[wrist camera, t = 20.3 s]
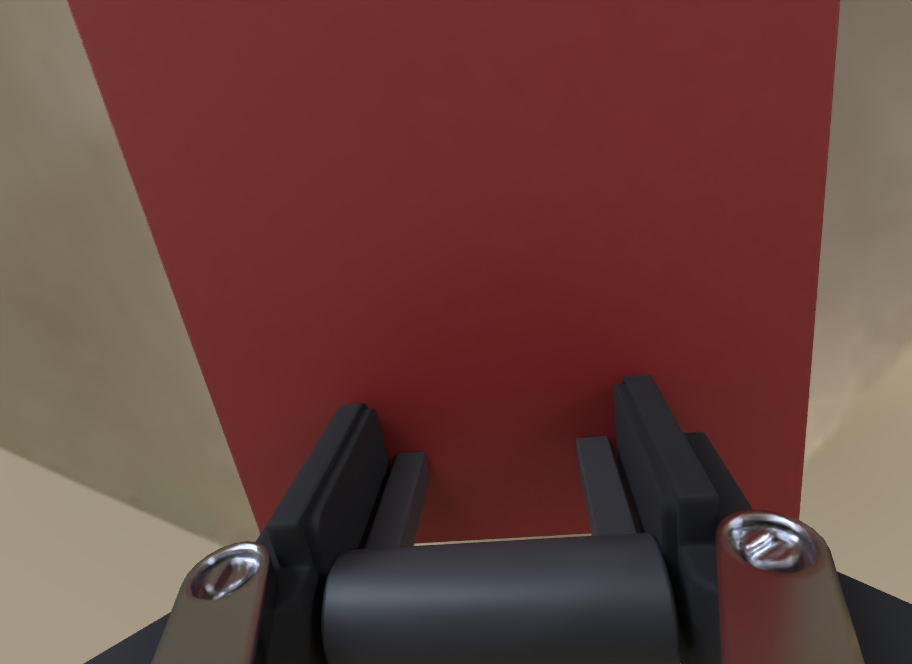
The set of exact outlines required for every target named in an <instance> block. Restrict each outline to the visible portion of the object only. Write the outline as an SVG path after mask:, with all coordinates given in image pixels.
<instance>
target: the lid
mask: <svg viewBox="0 0 912 664" xmlns="http://www.w3.org/2000/svg"><path fill="white" fill-rule="evenodd" d="M67 2H68V5H69V8H70V11H71V13H72V16H73V19H74V22H75V24H76V27H77V30H78V33H79V35H80V38H81V41H82V44H83V47H84V49H85V52H86V55H87V58H88V60H89V63H90V66H91V69H92V71H93V74H94V77H95V80H96V82H97V85H98V88H99V91H100V93H101V96H102V99H103V102H104V104H105V107H106V110H107V113H108V115H109V118H110V121H111V124H112V126H113V129H114V132H115V135H116V137H117V140H118V143H119V146H120V148H121V151H122V154H123V157H124V159H125V162H126V165H127V168H128V170H129V173H130V176H131V179H132V181H133V184H134V187H135V190H136V192H137V195H138V198H139V201H140V203H141V206H142V209H143V212H144V214H145V217H146V220H147V223H148V225H149V228H150V231H151V234H152V236H153V239H154V242H155V245H156V247H157V250H158V253H159V256H160V259H161V261H162V264H163V267H164V270H165V272H166V275H167V278H168V281H169V283H170V286H171V289H172V292H173V294H174V297H175V300H176V303H177V305H178V308H179V311H180V314H181V316H182V319H183V322H184V325H185V327H186V330H187V333H188V336H189V338H190V341H191V344H192V347H193V349H194V352H195V355H196V358H197V360H198V363H199V366H200V369H201V371H202V374H203V377H204V380H205V382H206V385H207V388H208V391H209V393H210V396H211V399H212V402H213V404H214V407H215V410H216V413H217V415H218V418H219V421H220V424H221V426H222V429H223V432H224V435H225V437H226V440H227V443H228V446H229V448H230V451H231V454H232V457H233V460H234V462H235V465H236V468H237V471H238V473H239V476H240V479H241V482H242V484H243V487H244V490H245V493H246V495H247V498H248V501H249V504H250V506H251V509H252V512H253V515H254V517H255V520H256V523H257V526H258V528H259V531H260V534H261V533H262V531H263V529H264V528H265V526H266V524H267V523H268V521H269V520H270V518H271V516H272V515H273V513H274V511H275V510H276V508H277V507H278V505H279V503H280V502H281V500H282V498H283V497H284V495H285V493H286V492H287V490H288V489H289V487H290V485H291V484H292V482H293V480H294V479H295V477H296V476H297V474H298V472H299V471H300V469H301V468H302V466H303V465H304V463H305V461H306V460H307V458H308V456H309V455H310V453H311V452H312V450H313V448H314V447H315V445H316V443H317V442H318V440H319V438H320V437H321V435H322V434H323V432H324V430H325V429H326V427H327V425H328V424H329V422H330V421H331V419H332V417H333V416H334V414H335V412H336V411H337V409H338V407H339V406H340V405H350V404H360V403H365V404H367V406H368V408H369V409H373V408H374V409H375V410H376V412H377V415H378V419H379V423H380V427H381V432H382V436H383V440H384V444H385V448H386V452H387V456H388V461H389V465H390V469H391V471H390V474H389V477H388V480H387V483H386V486H385V489H384V492H383V495H382V497H381V500H380V503H379V506H378V509H377V512H376V515H375V518H374V520H373V523H372V526H371V529H370V532H369V535H368V538H367V541H366V544H365V546H364V549H356V550H346V551H344V552H342V553H340V554H339V555H338V556H337V558H336V559H335V560H334V562H333V564H332V566H331V568H330V571H329V574H328V577H327V581H326V585H325V589H324V595H323V602H322V613H321V635H322V645H323V651H324V656H325V659H326V662H327V664H680V659H681V637H680V628H679V620H678V614H677V608H676V602H675V597H674V592H673V588H672V583H671V579H670V575H669V571H668V568H667V564H666V561H665V558H664V555H663V553H662V550H661V548H660V545H659V543H658V541H657V540H656V538H655V536H654V535H652V534H650V533H638V531H637V528H636V524H635V521H634V518H633V515H632V511H631V508H630V505H629V502H628V498H627V495H626V492H625V489H624V485H623V482H622V479H621V476H620V473H619V469H618V457H617V442H616V426H615V411H614V396H613V385H615V384H622V378H623V377H628V376H638V375H648V374H650V375H651V376H652V378H653V380H654V381H655V383H656V385H657V387H658V389H659V390H660V392H661V394H662V396H663V398H664V399H665V401H666V403H667V405H668V406H669V408H670V410H671V412H672V414H673V415H674V417H675V419H676V421H677V423H678V424H679V426H680V428H681V430H682V431H683V433H689V432H704V433H705V435H706V436H707V437H708V439H709V440H710V442H711V443H712V445H713V447H714V448H715V450H716V451H717V453H718V455H719V456H720V458H721V459H722V461H723V462H724V464H725V466H726V467H727V469H728V470H729V472H730V474H731V475H732V477H733V478H734V480H735V482H736V483H737V485H738V486H739V488H740V489H741V491H742V493H743V494H744V496H745V497H746V499H747V501H748V502H749V504H750V505H751V507H752V508H753V510H767V511H772V512H777V513H782V514H785V515H787V516H790V517H793V518H795V519H798V520H799V513H800V501H801V487H802V476H803V463H804V450H805V438H806V425H807V412H808V400H809V387H810V375H811V362H812V349H813V337H814V324H815V311H816V299H817V286H818V274H819V261H820V248H821V236H822V223H823V211H824V198H825V185H826V173H827V160H828V147H829V135H830V122H831V110H832V97H833V84H834V72H835V59H836V47H837V34H838V21H839V9H840V0H67ZM587 533H591V535H592V536H583V537H565V538H548V539H530V540H513V541H495V542H478V543H460V544H443V545H425V546H414V543H431V542H449V541H466V540H483V539H500V538H518V537H535V536H552V535H569V534H587Z"/></svg>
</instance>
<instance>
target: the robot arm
mask: <svg viewBox="0 0 912 664" xmlns="http://www.w3.org/2000/svg"><path fill="white" fill-rule="evenodd" d="M613 396H614V411H615V426H616V442H617V457H618V469H619V473H620V476H621V479H622V482H623V485H624V489H625V492H626V495H627V498H628V502H629V505H630V508H631V511H632V515H633V518H634V521H635V524H636V528H637V531H638V533H650V534H652V535H654V536H655V538H656V540H657V541H658V543H659V545H660V548H661V550H662V553H663V555H664V558H665V561H666V564H667V568H668V571H669V575H670V579H671V583H672V588H673V592H674V597H675V602H676V608H677V614H678V620H679V628H680V637H681V659H680V664H912V604H910V603H908V602H905V601H903V600H901V599H899V598H896V597H894V596H892V595H889V594H887V593H885V592H882V591H880V590H878V589H876V588H874V587H871V586H869V585H867V584H864V583H862V582H860V581H858V580H855V579H853V578H851V577H849V576H846V575H844V574H842V573H839V572H837V571H836V568H835V564H834V561H833V558H832V555H831V551H830V549H829V547H828V546H827V544H826V542H825V540H824V539H823V538H822V537H821V536H820V535H819V534H818V533H817V532H816V531H815V530H814V529H813V528H811V527H809V526H808V525H806V524H805V523H803V522H801V521H800V520H798V519H795V518H793V517H790V516H787V515H785V514H782V513H777V512H772V511H767V510H753V508H752V507H751V505H750V504H749V502H748V501H747V499H746V497H745V496H744V494H743V493H742V491H741V489H740V488H739V486H738V485H737V483H736V482H735V480H734V478H733V477H732V475H731V474H730V472H729V470H728V469H727V467H726V466H725V464H724V462H723V461H722V459H721V458H720V456H719V455H718V453H717V451H716V450H715V448H714V447H713V445H712V443H711V442H710V440H709V439H708V437H707V436H706V435H705V433H704V432H689V433H683V431H682V430H681V428H680V426H679V424H678V423H677V421H676V419H675V417H674V415H673V414H672V412H671V410H670V408H669V406H668V405H667V403H666V401H665V399H664V398H663V396H662V394H661V392H660V390H659V389H658V387H657V385H656V383H655V381H654V380H653V378H652V376H651V375H650V374H648V375H638V376H628V377H623V378H622V384H615V385H613ZM390 471H391V469H390V465H389V461H388V456H387V452H386V448H385V444H384V440H383V436H382V432H381V427H380V423H379V419H378V415H377V412H376V410H375V409H374V408H373V409H369V408H368V406H367V404H365V403H360V404H350V405H340V406H339V407H338V409H337V411H336V412H335V414H334V416H333V417H332V419H331V421H330V422H329V424H328V425H327V427H326V429H325V430H324V432H323V434H322V435H321V437H320V438H319V440H318V442H317V443H316V445H315V447H314V448H313V450H312V452H311V453H310V455H309V456H308V458H307V460H306V461H305V463H304V465H303V466H302V468H301V469H300V471H299V472H298V474H297V476H296V477H295V479H294V480H293V482H292V484H291V485H290V487H289V489H288V490H287V492H286V493H285V495H284V497H283V498H282V500H281V502H280V503H279V505H278V507H277V508H276V510H275V511H274V513H273V515H272V516H271V518H270V520H269V521H268V523H267V524H266V526H265V528H264V529H263V531H262V533H261V534H260V536H259V537H258V539H257V541H256V542H248V541H246V542H239V543H234V544H231V545H228V546H225V547H222V548H220V549H218V550H217V551H215V552H213V553H211V554H209V555H208V556H206V557H205V558H204V559H202V560H201V561H200V562H199V563H197V564H196V565H195V566H194V567H193V568H192V570H191V571H190V572H189V573H188V574H187V576H186V578H185V579H184V581H183V583H182V585H181V587H180V590H179V593H178V595H177V598H176V600H175V603H174V606H173V609H172V611H171V612H170V613H169V614H167V615H165V616H163V617H162V618H160V619H158V620H157V621H155V622H153V623H152V624H150V625H148V626H147V627H145V628H143V629H141V630H140V631H138V632H136V633H135V634H133V635H131V636H130V637H128V638H126V639H125V640H123V641H121V642H119V643H118V644H116V645H115V646H113V647H111V648H110V649H108V650H106V651H104V652H103V653H101V654H99V655H98V656H96V657H94V658H93V659H91V660H89V661H87V662H86V663H84V664H327V662H326V659H325V656H324V651H323V645H322V635H321V613H322V602H323V595H324V589H325V585H326V581H327V577H328V574H329V571H330V568H331V566H332V564H333V562H334V560H335V559H336V558H337V556H338V555H339V554H340V553H342V552H344V551H346V550H356V549H364V546H365V544H366V541H367V538H368V535H369V532H370V529H371V526H372V523H373V520H374V518H375V515H376V512H377V509H378V506H379V503H380V500H381V497H382V495H383V492H384V489H385V486H386V483H387V480H388V477H389V474H390Z"/></svg>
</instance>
